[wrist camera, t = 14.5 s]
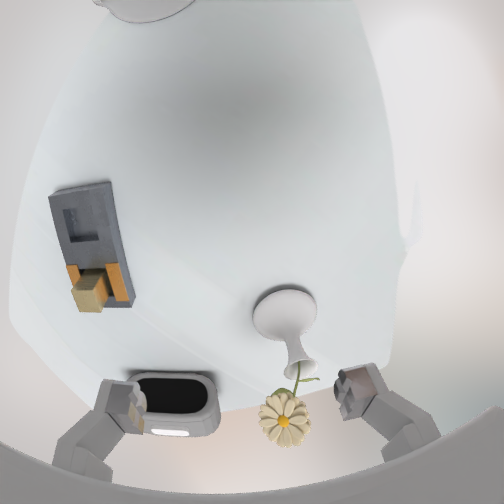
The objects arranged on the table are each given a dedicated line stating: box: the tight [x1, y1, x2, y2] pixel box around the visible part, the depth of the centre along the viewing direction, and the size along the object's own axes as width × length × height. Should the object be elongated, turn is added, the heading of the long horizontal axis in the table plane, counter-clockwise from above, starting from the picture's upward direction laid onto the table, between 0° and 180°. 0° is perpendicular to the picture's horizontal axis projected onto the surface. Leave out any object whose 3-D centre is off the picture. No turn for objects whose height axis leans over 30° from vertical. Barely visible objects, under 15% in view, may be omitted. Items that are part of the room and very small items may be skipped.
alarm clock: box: [127, 372, 221, 437], centre depth 50 cm, size 21×10×13 cm, turn 89°
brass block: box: [71, 268, 112, 313], centre depth 37 cm, size 4×4×7 cm
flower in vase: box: [253, 289, 320, 448], centre depth 37 cm, size 13×11×25 cm
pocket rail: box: [48, 182, 136, 308], centre depth 37 cm, size 20×10×3 cm, turn 0°
